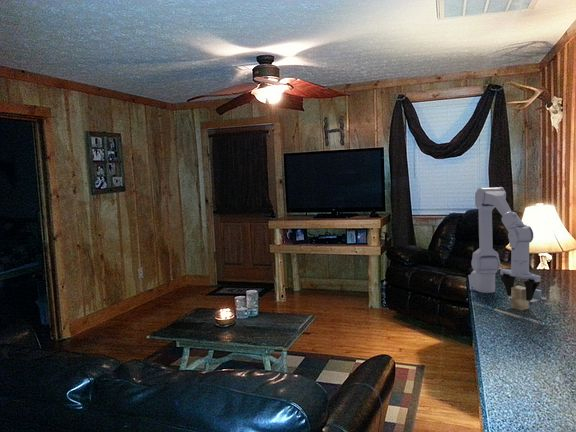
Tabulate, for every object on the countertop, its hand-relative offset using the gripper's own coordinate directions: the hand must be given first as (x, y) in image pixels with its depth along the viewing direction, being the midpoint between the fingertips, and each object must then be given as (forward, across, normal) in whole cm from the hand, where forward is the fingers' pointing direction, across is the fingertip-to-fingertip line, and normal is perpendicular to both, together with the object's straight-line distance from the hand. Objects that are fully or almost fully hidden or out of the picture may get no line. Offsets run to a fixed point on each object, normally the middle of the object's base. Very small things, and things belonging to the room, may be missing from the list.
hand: (519, 297), depth 163 cm
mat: (+5, 0, 0) cm, 5 cm away
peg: (+4, 0, 0) cm, 4 cm away
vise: (+5, -7, +14) cm, 16 cm away
